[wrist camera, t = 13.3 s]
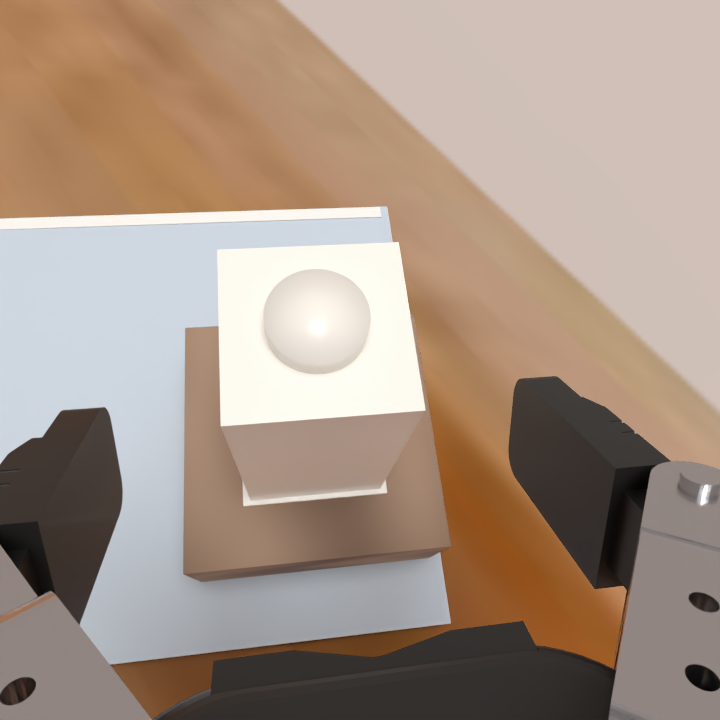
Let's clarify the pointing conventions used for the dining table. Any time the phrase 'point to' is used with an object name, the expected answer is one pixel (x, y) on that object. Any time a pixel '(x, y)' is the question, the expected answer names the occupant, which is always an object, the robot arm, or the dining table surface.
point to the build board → (140, 380)
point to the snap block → (316, 366)
